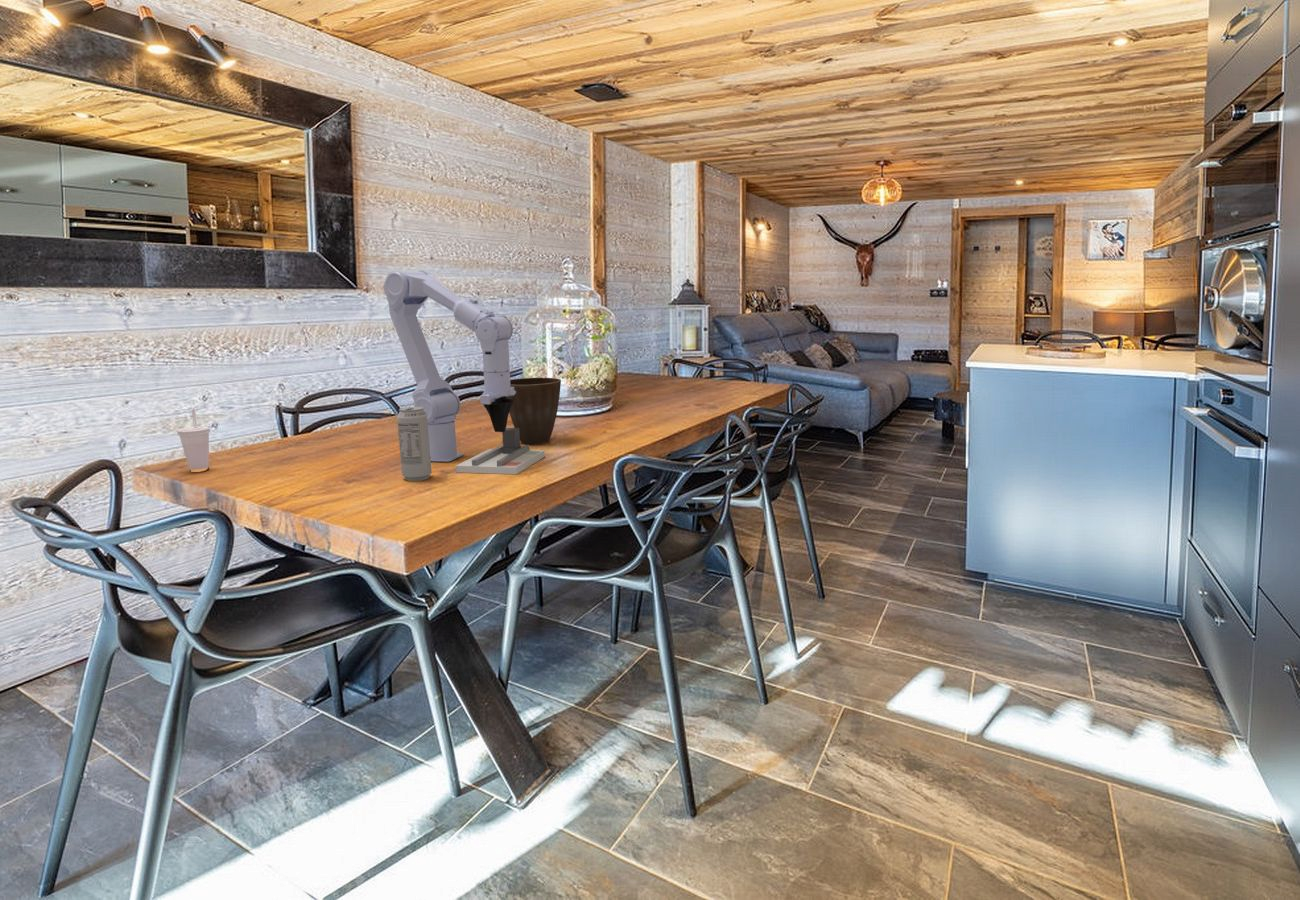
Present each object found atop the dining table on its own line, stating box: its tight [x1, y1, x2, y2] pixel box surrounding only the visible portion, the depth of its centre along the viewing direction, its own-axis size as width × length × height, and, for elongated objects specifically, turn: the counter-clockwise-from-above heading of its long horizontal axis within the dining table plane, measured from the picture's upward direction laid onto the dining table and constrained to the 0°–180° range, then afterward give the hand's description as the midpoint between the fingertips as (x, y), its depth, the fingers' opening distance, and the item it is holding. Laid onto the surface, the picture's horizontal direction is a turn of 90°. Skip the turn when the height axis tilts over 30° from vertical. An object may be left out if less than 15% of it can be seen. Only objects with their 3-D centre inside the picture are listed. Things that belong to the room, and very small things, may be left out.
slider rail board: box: [455, 444, 546, 475], centre depth 174 cm, size 14×18×3 cm
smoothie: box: [176, 409, 211, 469], centre depth 172 cm, size 6×6×14 cm
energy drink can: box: [396, 406, 432, 482], centre depth 161 cm, size 6×6×15 cm
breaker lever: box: [501, 427, 522, 454], centre depth 179 cm, size 3×4×6 cm
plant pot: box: [506, 377, 562, 446], centre depth 197 cm, size 15×15×16 cm
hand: (500, 431), depth 172 cm, fingers closed
